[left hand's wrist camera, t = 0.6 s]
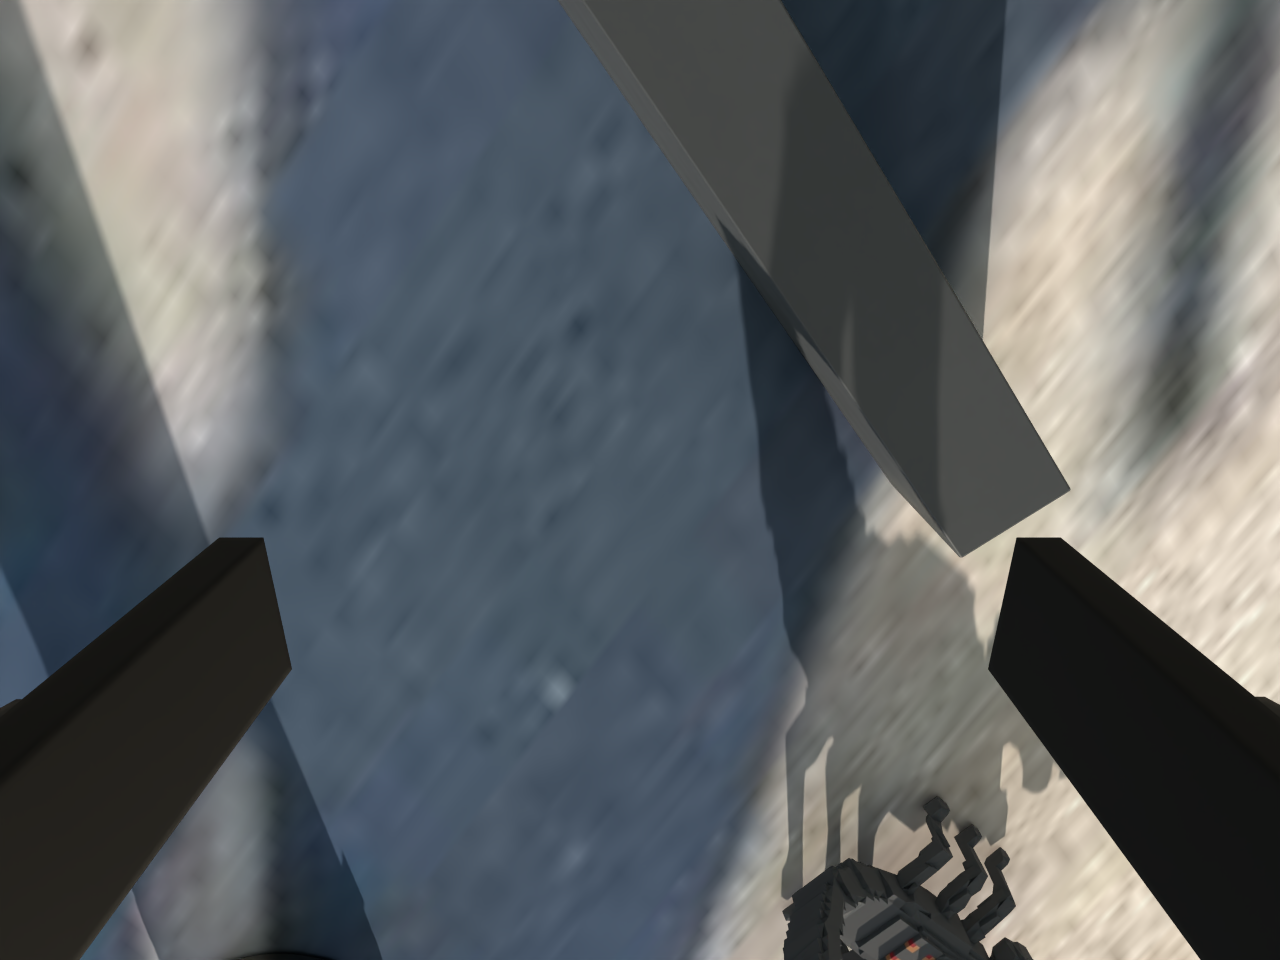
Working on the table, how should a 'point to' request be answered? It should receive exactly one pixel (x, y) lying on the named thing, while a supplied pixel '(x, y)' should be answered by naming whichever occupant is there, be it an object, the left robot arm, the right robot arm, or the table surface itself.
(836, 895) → the toy
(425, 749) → the table surface
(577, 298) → the table surface
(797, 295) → the beam
